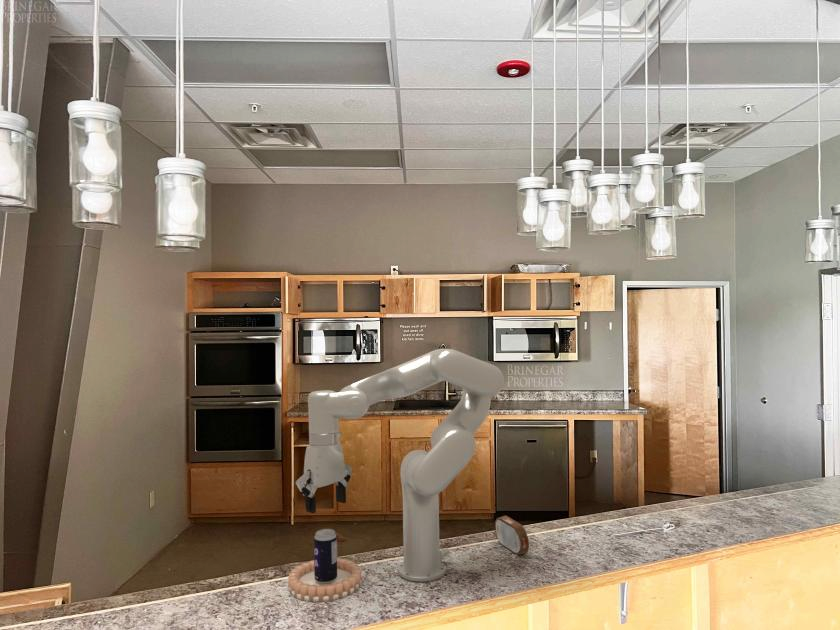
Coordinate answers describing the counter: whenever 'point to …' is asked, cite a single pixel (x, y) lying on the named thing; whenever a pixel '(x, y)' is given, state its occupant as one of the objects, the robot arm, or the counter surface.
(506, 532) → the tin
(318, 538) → the beverage can
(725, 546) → the counter surface
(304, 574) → the round dish
